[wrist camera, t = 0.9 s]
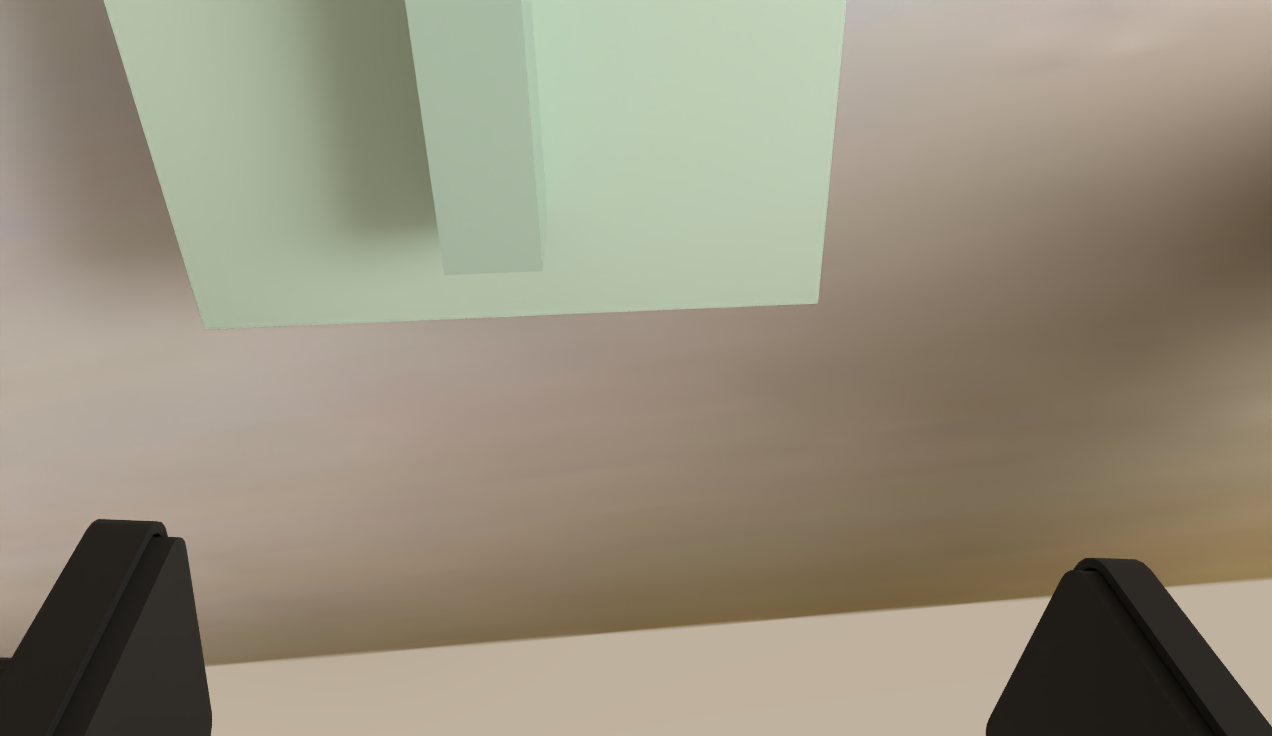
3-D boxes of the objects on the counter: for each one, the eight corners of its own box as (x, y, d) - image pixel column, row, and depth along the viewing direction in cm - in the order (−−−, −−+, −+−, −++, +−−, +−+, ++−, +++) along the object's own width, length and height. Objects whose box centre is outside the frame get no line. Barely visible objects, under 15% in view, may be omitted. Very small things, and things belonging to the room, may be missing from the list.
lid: (849, -271, 23) (928, -284, 18) (803, 272, 31) (849, 371, 26) (69, -255, 23) (-83, -262, 17) (227, 296, 31) (155, 403, 25)
